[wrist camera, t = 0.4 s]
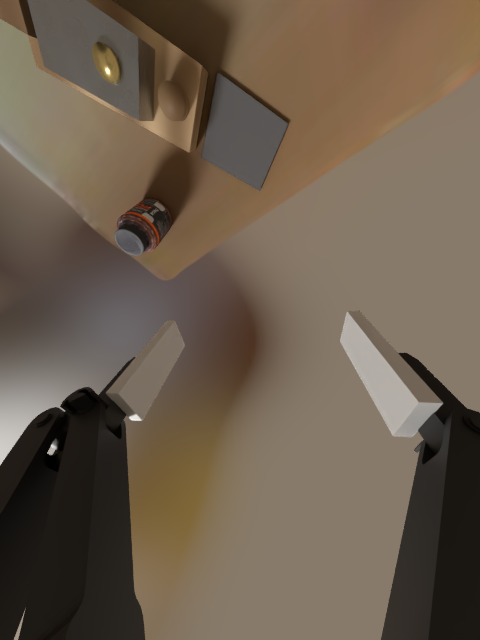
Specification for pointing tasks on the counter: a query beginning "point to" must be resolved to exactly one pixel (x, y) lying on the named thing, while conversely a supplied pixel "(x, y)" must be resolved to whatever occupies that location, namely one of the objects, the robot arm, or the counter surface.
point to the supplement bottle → (143, 227)
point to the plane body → (169, 82)
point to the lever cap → (96, 54)
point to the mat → (241, 134)
